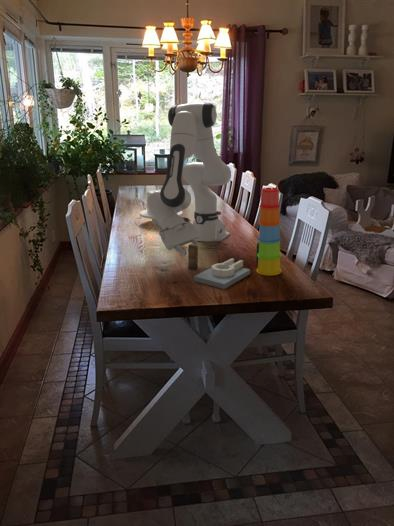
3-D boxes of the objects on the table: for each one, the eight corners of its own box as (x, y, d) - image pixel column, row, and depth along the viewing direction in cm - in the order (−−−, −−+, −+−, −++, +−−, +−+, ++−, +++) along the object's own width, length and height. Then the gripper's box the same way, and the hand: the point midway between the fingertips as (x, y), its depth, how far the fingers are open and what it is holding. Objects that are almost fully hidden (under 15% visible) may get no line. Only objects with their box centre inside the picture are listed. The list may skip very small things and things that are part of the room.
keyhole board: (223, 266, 188) (223, 256, 186) (251, 272, 180) (252, 262, 179) (193, 280, 171) (193, 270, 170) (224, 289, 164) (224, 277, 162)
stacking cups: (275, 277, 175) (281, 191, 164) (252, 272, 180) (256, 188, 169) (285, 270, 183) (291, 187, 172) (262, 266, 189) (267, 185, 177)
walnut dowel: (191, 266, 188) (192, 243, 185) (199, 267, 186) (199, 245, 183) (186, 268, 185) (186, 245, 182) (194, 270, 183) (194, 247, 180)
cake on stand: (143, 218, 272) (142, 187, 266) (183, 219, 271) (183, 188, 265) (136, 228, 248) (135, 195, 242) (180, 229, 247) (180, 195, 241)
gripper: (161, 226, 175) (180, 253, 173) (191, 217, 191) (209, 242, 189) (153, 235, 179) (172, 262, 177) (183, 225, 195) (200, 250, 193)
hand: (191, 252), depth 183 cm, fingers open, 8 cm apart
